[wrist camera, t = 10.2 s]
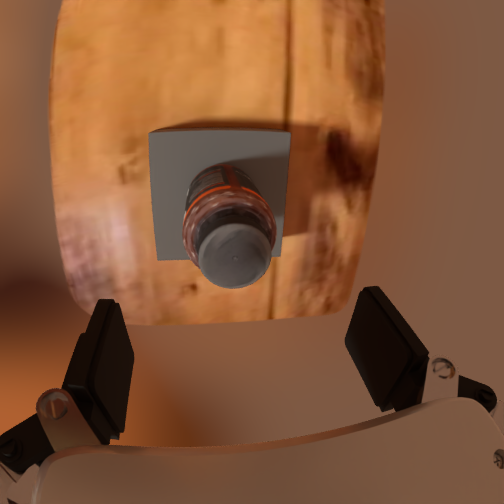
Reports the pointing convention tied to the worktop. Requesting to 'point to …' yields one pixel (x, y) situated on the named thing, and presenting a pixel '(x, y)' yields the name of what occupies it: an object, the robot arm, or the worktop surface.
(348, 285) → the worktop surface
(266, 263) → the supplement bottle
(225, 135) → the pedestal
